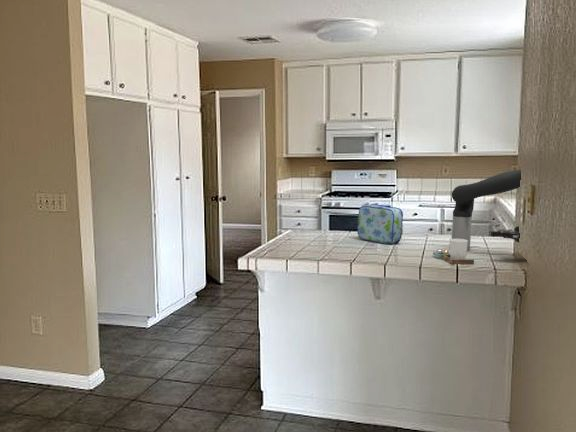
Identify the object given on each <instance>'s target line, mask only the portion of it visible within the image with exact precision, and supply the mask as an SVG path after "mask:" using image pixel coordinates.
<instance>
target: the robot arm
mask: <svg viewBox="0 0 576 432" xmlns="http://www.w3.org/2000/svg"><path fill="white" fill-rule="evenodd" d="M520 180H521V169H514V170H509V171H505V172H502V173H497V174H496V175H492V176H489V177H487V178H484V179H482V180H480V181H478V182H473V183H469V184H462V185H461V184H460V185H458V186H456V187H454V189H453V190H452V192H451V199H452V201H454V202H455V204H454V205H455V206H454V209H453V211H452V223H451V224H452V226H451V227H452V228H451V239H465V240H468V246H467V252H468V251H470V249H471V238H472V237H471V236H472V218H473V217H472V216H473V212H474V207H475V206H474V205H475V204H474V203H475V199H478V198H481V197H484V196H491V195H492V196H493V195H497V194H502V193H507V192H511V191H514V190H516V189H517V190H518V189H520V188H521V187H520ZM519 187H520V188H519ZM519 226H520V225H517V226H515V228H514V229H504V228H501V229H497V231H494V230H493V231H490V236H491V237H492V238H493V237H496V238H497V237H500V238H504V239H511V240H514V241H515V242H516V243H520V242H519V238H520V233H519Z"/></svg>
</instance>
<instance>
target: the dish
mask: <svg viewBox="0 0 576 432" xmlns="http://www.w3.org/2000/svg"><path fill="white" fill-rule="evenodd" d="M442 255H450V252H449V254H438V253H436V251H433V252H432V256H434V258H435V259H439V260H443V259H442Z"/></svg>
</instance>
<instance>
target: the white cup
mask: <svg viewBox="0 0 576 432" xmlns="http://www.w3.org/2000/svg"><path fill="white" fill-rule="evenodd" d="M467 246H468V240H465V239H452V238H451V239H449V253H450V258H451V259H454V260H467V254H468V251H467Z"/></svg>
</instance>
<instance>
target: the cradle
mask: <svg viewBox="0 0 576 432" xmlns="http://www.w3.org/2000/svg"><path fill="white" fill-rule="evenodd" d="M441 260H443V261H444V260H445V261H444V262H447V263H448V264H451V265H453V266H455V264H461V265H474V264H475V259H474V258H473V259H471V258H470V259H466V260H454V259H451V258H450V255H442V259H441Z"/></svg>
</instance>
